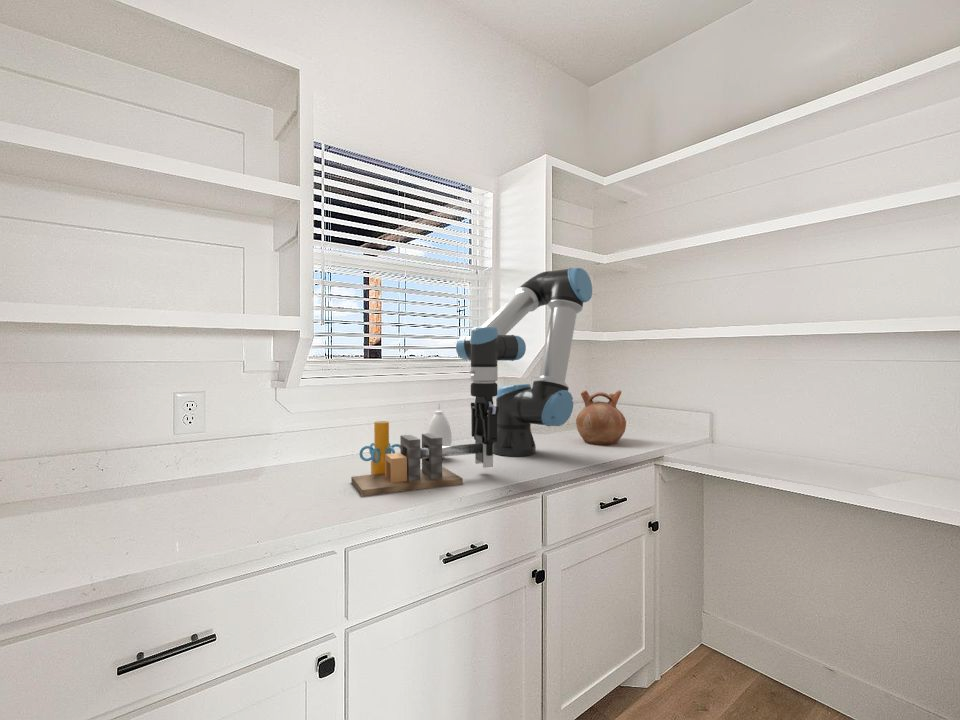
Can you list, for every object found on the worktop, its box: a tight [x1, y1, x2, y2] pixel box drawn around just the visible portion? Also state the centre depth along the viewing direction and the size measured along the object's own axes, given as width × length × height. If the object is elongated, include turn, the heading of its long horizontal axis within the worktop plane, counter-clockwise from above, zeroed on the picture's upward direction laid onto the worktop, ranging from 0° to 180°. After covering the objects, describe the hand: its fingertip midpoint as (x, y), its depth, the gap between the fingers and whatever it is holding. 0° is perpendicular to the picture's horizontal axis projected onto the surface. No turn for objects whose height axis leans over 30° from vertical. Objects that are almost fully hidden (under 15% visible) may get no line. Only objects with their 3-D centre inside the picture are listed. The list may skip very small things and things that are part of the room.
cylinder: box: [359, 420, 400, 475], centre depth 140 cm, size 12×10×15 cm
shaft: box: [420, 434, 485, 462], centre depth 137 cm, size 22×4×7 cm, turn 115°
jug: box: [575, 390, 627, 446], centre depth 191 cm, size 18×18×20 cm
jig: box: [350, 433, 464, 497], centre depth 132 cm, size 26×14×12 cm, turn 115°
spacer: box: [385, 452, 407, 482], centre depth 131 cm, size 4×6×6 cm, turn 25°
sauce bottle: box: [426, 403, 453, 459], centre depth 163 cm, size 8×8×18 cm
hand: (483, 464), depth 142 cm, fingers closed on shaft, 4 cm apart
